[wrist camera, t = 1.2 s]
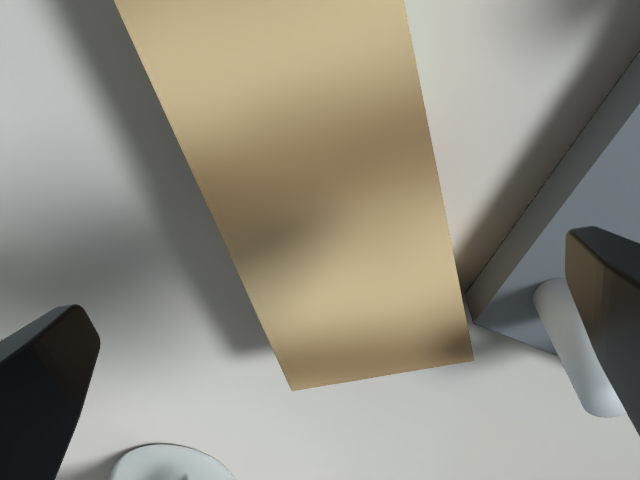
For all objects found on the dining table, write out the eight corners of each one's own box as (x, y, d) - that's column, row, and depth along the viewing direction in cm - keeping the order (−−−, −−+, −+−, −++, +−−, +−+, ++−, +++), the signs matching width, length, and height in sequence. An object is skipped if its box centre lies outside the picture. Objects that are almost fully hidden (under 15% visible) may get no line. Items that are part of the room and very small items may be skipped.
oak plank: (457, 300, 18) (474, 360, 16) (299, 331, 20) (291, 391, 17) (361, -171, 12) (364, -201, 9) (130, -82, 13) (74, -86, 10)
